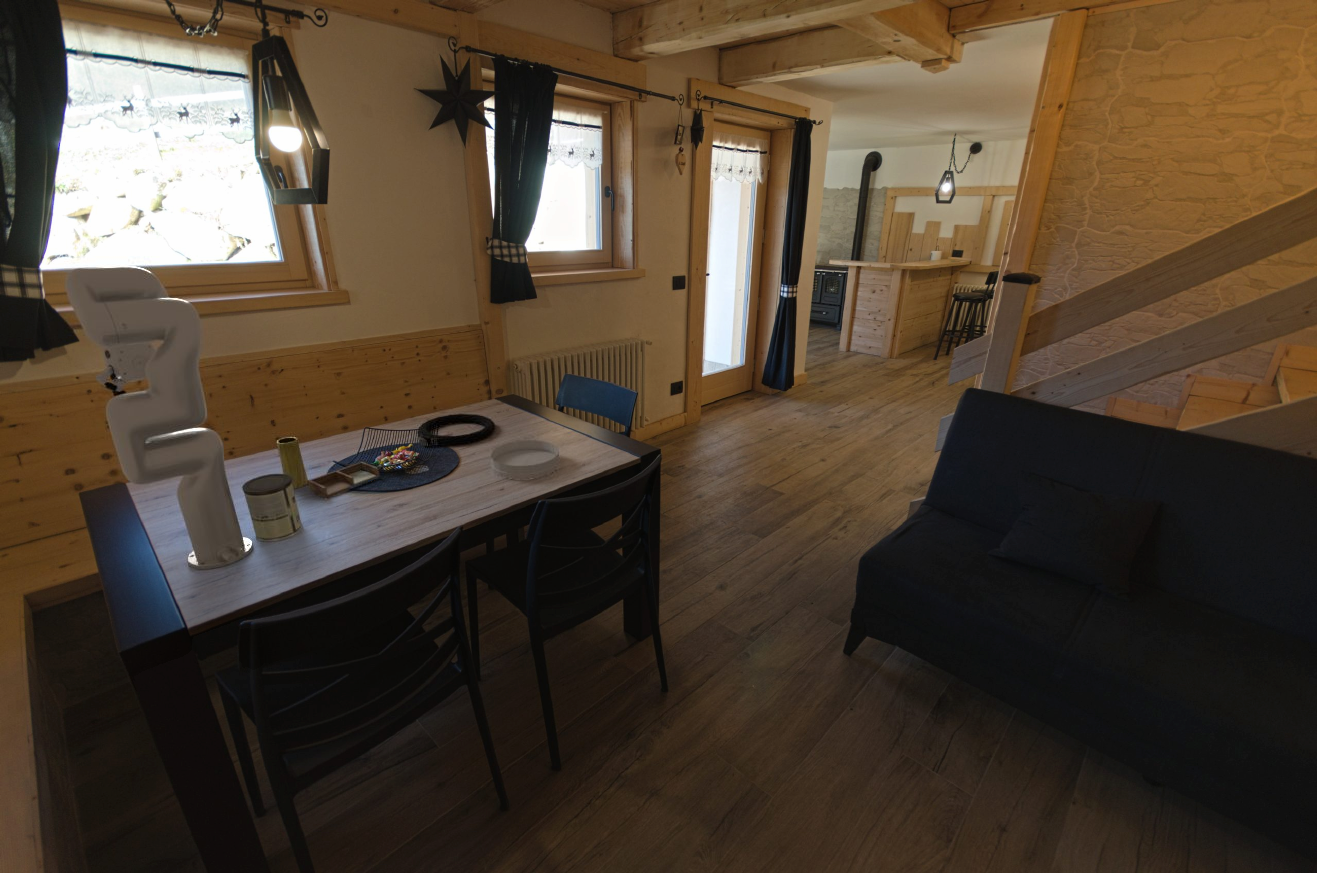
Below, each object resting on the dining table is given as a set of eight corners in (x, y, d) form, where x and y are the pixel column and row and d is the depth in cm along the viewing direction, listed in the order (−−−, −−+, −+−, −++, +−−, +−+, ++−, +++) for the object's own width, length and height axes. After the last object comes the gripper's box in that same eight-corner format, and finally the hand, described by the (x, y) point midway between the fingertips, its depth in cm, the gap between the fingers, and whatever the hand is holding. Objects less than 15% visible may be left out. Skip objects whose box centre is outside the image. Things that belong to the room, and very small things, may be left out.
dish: (567, 455, 199) (567, 441, 197) (550, 483, 179) (549, 468, 177) (504, 451, 201) (503, 438, 199) (480, 478, 181) (479, 463, 179)
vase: (282, 489, 170) (271, 444, 165) (288, 480, 175) (278, 437, 170) (305, 487, 171) (295, 443, 166) (311, 479, 177) (301, 435, 172)
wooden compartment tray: (379, 478, 178) (378, 467, 177) (326, 498, 165) (323, 487, 164) (363, 471, 183) (361, 461, 181) (309, 491, 169) (307, 480, 168)
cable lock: (510, 420, 220) (450, 445, 196) (510, 429, 222) (451, 455, 197) (457, 408, 232) (393, 430, 207) (457, 417, 234) (395, 440, 209)
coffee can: (251, 530, 148) (238, 481, 143) (296, 517, 155) (285, 469, 150) (260, 547, 141) (246, 495, 136) (307, 532, 148) (296, 483, 143)
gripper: (96, 342, 137) (118, 411, 143) (170, 329, 153) (187, 392, 159) (72, 340, 139) (96, 408, 145) (148, 328, 154) (166, 389, 161)
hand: (144, 399), depth 152 cm, fingers open, 9 cm apart
